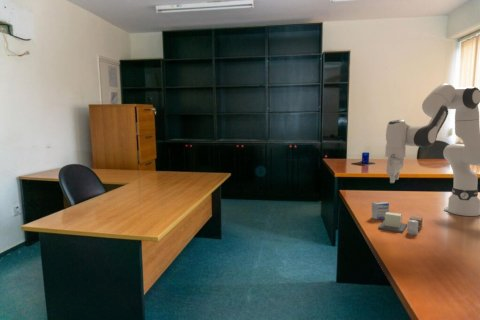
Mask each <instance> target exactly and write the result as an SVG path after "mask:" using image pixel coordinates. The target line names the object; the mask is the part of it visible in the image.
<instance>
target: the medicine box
mask: <svg viewBox="0 0 480 320" xmlns="http://www.w3.org/2000/svg"><path fill="white" fill-rule="evenodd" d="M386 212H390V202H387V201H377V202H371V218H372V219H374V220H377V221H379V220H385V213H386Z"/></svg>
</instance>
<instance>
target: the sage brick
mask: <svg viewBox="0 0 480 320" xmlns="http://www.w3.org/2000/svg"><path fill="white" fill-rule="evenodd" d="M402 215H403V214H402V213H397V212H390V211H389V212H386V213H385V219H384V221H385V226H391V227H398V228H400V227H401V223H402Z"/></svg>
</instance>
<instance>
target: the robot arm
mask: <svg viewBox="0 0 480 320" xmlns="http://www.w3.org/2000/svg"><path fill="white" fill-rule="evenodd" d="M479 104H480V89H479V88H478V87H476V86H465V87H459V86H458V87H454V86H453V85H452V84H450V83H442V84H440V85H438V86H437V87H435V88H434V89H433V90H431V92H430V93H429V94H428V95H427V96H426V97H425V99H424V100H423V101H422V103H421V105H422V106H421V109H422V112H423V113H424V114H425V115H426V116H427V117H429V118H431V119H430V121H429V122H428V124H427V125H423V126H411V125H409V124H408V123H406V121H405V120H404V119H395V120H390V121H389V122H387V126H386V130H385V132H386V133H385V141H386V144H385V156H384V157H386V158H387V160H386V171H385V173H386V175H388V176H389V183H390V184H395V181H397V180H399V177H400V172H401V170H403V167H404V161H405V157H406V148H407V147H406V146H409V147H419V148H424V149H428V148H430V147H431V146H433V145H434V144H435V142H436V140H437V137H438V135H439V132H440V130H441V128H442V127H443V126H444V124H445V122H446V120H447V118H448V114H449V110H455V113H454V133H455V136H456V137H457V138H459V139H461V141H462V143H455V144H454V143H452V144H447V145H446V146H445V147H444V149H443V151H442V152H443V154H442V155H443V158H444V160H445V161H446V162H448V164H449V165H450V167H451V169H452V173H453V187H452V190H451V191H452V192H451V195H450V196H449V197H448V204H447V206H446V207H445V208H444V210H443V211H445V212H449V213H450V214H454V215H459V216H464V217H465V216H466V217H476V216H480V198H479V197H478V195H479V190H478V184H479V183H478V182H479V181H478V180H479V176H478V174H477V173H476V172H475V171H473V170H472V168H471V166H480V111H479ZM470 165H471V166H470Z"/></svg>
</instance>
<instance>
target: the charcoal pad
mask: <svg viewBox="0 0 480 320" xmlns="http://www.w3.org/2000/svg"><path fill="white" fill-rule="evenodd" d="M407 228H408V223H402V222H401V227H400V228H398V227H391V226H385V220H383V221H382V222H381V223H380V225H378V230H383V231H387V232H388V231H389V232H395V233H400V234H402V233H404V231H405V229H407Z"/></svg>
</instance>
